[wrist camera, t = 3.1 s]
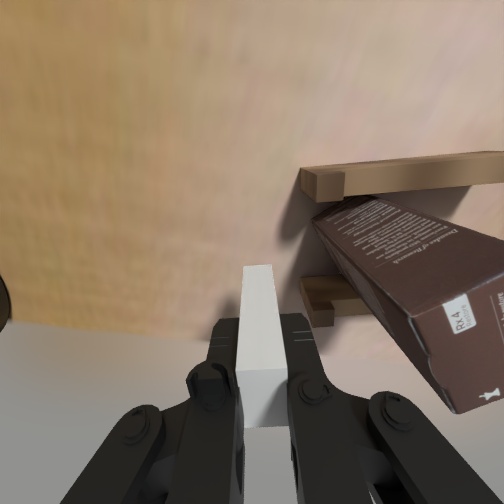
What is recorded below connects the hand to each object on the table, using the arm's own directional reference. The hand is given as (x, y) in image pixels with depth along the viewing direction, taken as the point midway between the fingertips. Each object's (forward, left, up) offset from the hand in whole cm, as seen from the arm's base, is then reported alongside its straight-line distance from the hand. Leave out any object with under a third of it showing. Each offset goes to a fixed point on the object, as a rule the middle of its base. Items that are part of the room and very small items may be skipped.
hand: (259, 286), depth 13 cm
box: (+8, 0, -7) cm, 10 cm away
